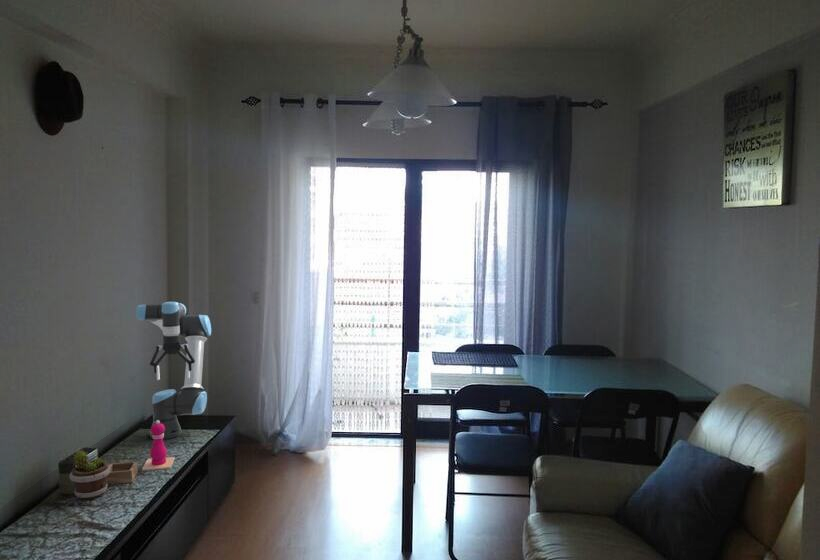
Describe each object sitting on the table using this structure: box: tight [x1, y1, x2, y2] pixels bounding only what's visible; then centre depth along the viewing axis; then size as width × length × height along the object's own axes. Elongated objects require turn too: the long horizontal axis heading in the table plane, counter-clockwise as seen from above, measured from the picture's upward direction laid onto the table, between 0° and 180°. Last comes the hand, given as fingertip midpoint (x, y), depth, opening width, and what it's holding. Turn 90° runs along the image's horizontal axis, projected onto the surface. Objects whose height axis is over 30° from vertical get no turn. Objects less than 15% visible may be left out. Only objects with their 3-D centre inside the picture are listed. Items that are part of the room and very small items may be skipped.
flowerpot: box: [68, 448, 111, 500], centre depth 254 cm, size 14×15×20 cm
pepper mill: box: [149, 420, 168, 465], centre depth 286 cm, size 7×7×20 cm
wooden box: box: [106, 461, 139, 485], centre depth 271 cm, size 11×11×5 cm
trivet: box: [141, 456, 176, 472], centre depth 287 cm, size 12×12×1 cm
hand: (173, 378), depth 297 cm, fingers open, 13 cm apart
